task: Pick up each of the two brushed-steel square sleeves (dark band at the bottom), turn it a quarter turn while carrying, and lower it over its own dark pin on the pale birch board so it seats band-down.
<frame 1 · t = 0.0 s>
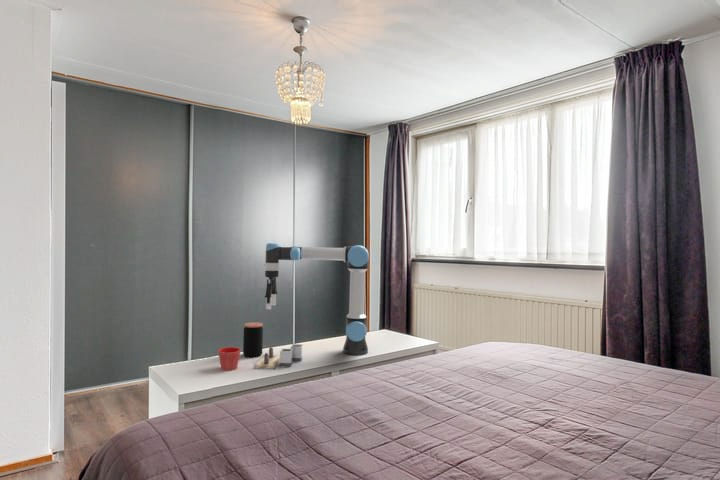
hand: (271, 307, 243), 28 cm above the table, fingers open, 13 cm apart
coffee jar: (252, 355, 243), on the table
sleeve b: (286, 365, 227), on the table
pin board: (268, 363, 230), on the table
flower pot: (229, 368, 218), on the table
sleeve a: (296, 359, 237), on the table
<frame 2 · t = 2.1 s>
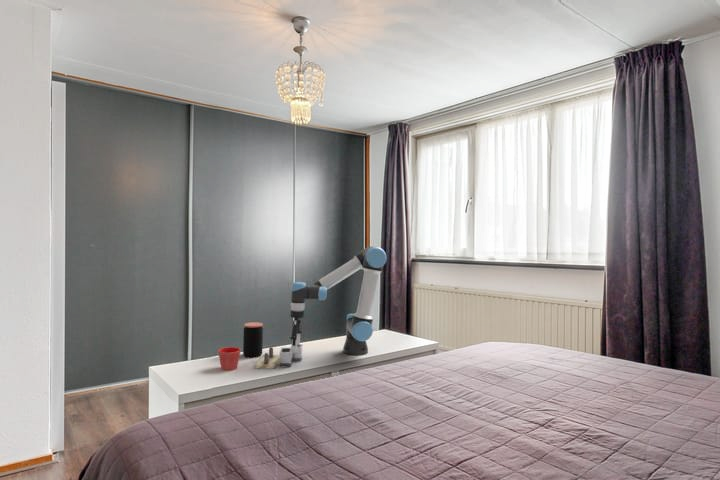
hand: (295, 348, 237), 7 cm above the table, fingers open, 13 cm apart
sleeve b: (286, 363, 227), point 1 cm above the table, tilted 13°
everything else where it was.
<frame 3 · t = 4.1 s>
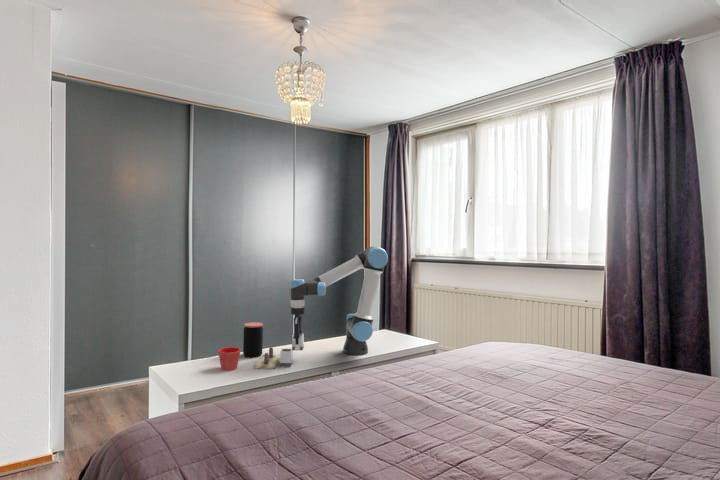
hand: (298, 348, 237), 6 cm above the table, fingers closed on sleeve a, 6 cm apart
sleeve b: (286, 365, 227), on the table
sleeve a: (298, 348, 237), point 6 cm above the table, touching gripper
everything else where it was.
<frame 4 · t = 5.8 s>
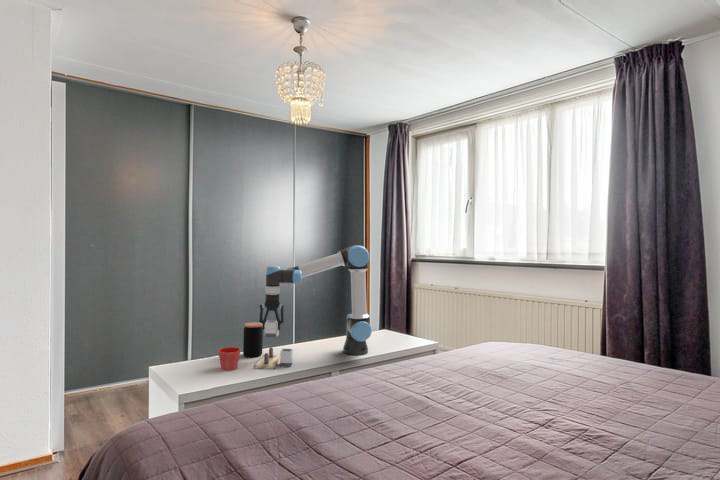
hand: (271, 335, 236), 14 cm above the table, fingers closed on sleeve a, 6 cm apart
sleeve a: (271, 335, 236), point 13 cm above the table, touching gripper
everything else where it was.
when the fingers open (3 cm above the table, at t = 7.9 s): sleeve a drops 1 cm, resting on pin board.
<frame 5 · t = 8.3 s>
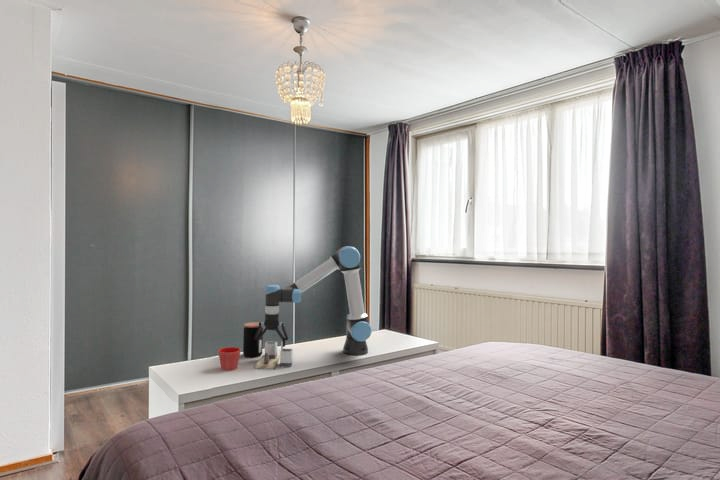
hand: (271, 352, 236), 4 cm above the table, fingers open, 11 cm apart
sleeve a: (270, 357, 236), point 1 cm above the table, touching pin board
everything else where it was.
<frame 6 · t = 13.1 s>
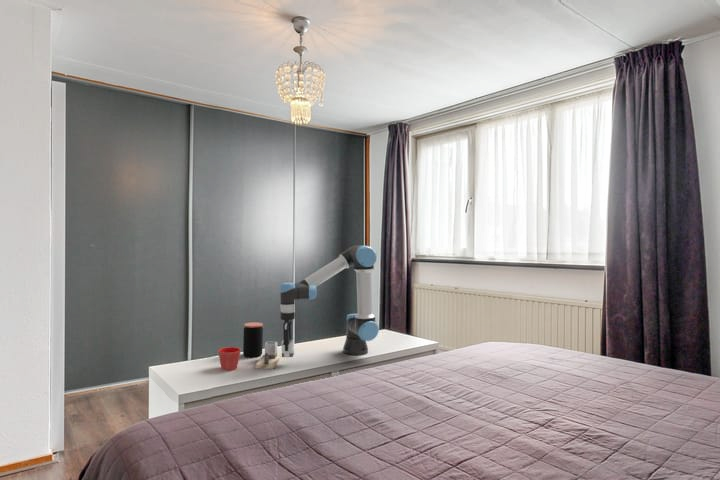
hand: (287, 354, 227), 5 cm above the table, fingers closed on sleeve b, 6 cm apart
sleeve b: (287, 355, 227), point 5 cm above the table, touching gripper
everything else where it was.
when the fingers open (3 cm above the table, at t = 16.7 s): sleeve b drops 1 cm, resting on pin board.
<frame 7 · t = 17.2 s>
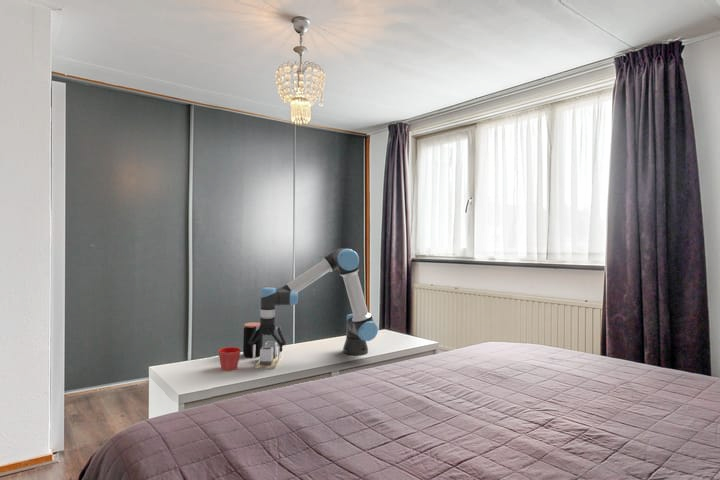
hand: (266, 357, 224), 5 cm above the table, fingers open, 12 cm apart
sleeve b: (266, 363, 224), point 1 cm above the table, touching pin board
everything else where it was.
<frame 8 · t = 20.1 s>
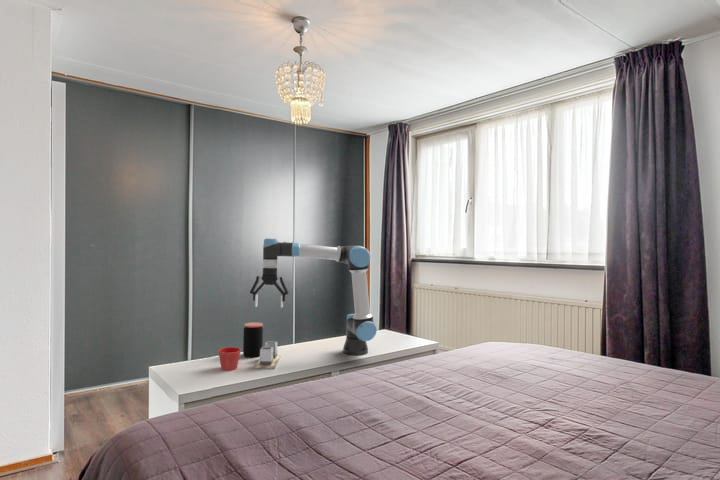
hand: (268, 307, 227), 31 cm above the table, fingers open, 13 cm apart
nothing on the table moved.
at the end: sleeve a 0.0 cm from the target spot on the pin board, point 1.5 cm above the pin board's base; sleeve b 0.0 cm from the target spot on the pin board, point 1.5 cm above the pin board's base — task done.
